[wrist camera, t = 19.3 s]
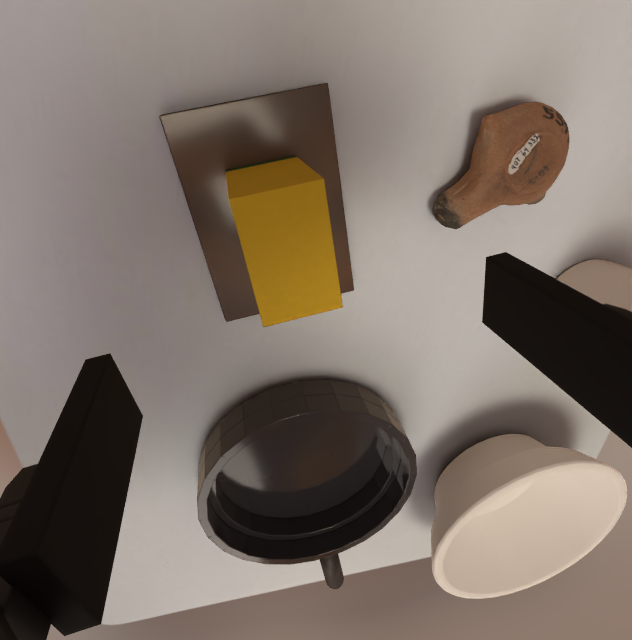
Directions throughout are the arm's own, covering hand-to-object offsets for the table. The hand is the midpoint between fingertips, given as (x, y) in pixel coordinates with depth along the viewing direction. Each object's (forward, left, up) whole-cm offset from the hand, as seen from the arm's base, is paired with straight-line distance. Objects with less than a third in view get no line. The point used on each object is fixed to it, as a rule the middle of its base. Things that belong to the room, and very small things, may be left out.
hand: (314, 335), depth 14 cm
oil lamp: (0, +16, -16) cm, 23 cm away
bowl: (+35, +18, -16) cm, 43 cm away
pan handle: (+37, -2, -14) cm, 39 cm away
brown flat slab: (0, 0, -16) cm, 16 cm away
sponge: (0, 0, -15) cm, 15 cm away
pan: (+24, -2, -16) cm, 29 cm away
